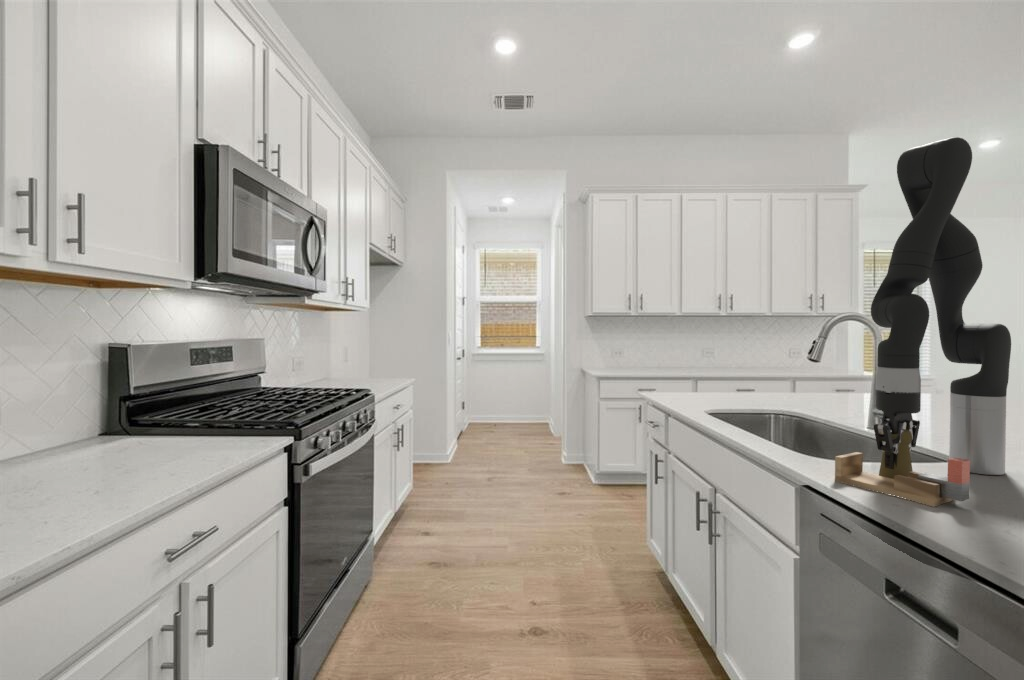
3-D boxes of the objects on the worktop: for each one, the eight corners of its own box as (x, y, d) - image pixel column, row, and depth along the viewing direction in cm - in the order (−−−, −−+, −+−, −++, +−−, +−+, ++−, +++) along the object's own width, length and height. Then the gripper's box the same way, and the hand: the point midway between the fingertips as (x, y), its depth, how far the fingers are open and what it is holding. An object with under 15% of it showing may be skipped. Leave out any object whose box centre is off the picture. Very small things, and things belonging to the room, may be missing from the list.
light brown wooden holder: (856, 475, 107) (856, 452, 107) (954, 499, 92) (955, 472, 91) (834, 480, 103) (835, 456, 103) (933, 506, 88) (934, 478, 88)
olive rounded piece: (921, 484, 100) (921, 431, 100) (887, 482, 102) (888, 430, 101) (903, 476, 106) (904, 425, 106) (872, 474, 107) (873, 424, 107)
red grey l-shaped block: (925, 488, 93) (926, 452, 93) (969, 498, 88) (969, 460, 88) (917, 490, 92) (918, 453, 92) (961, 501, 86) (962, 462, 86)
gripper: (895, 385, 110) (894, 461, 110) (859, 388, 104) (858, 469, 104) (935, 388, 103) (934, 469, 104) (900, 392, 97) (899, 478, 97)
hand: (896, 468), depth 104 cm, fingers closed on olive rounded piece, 3 cm apart
